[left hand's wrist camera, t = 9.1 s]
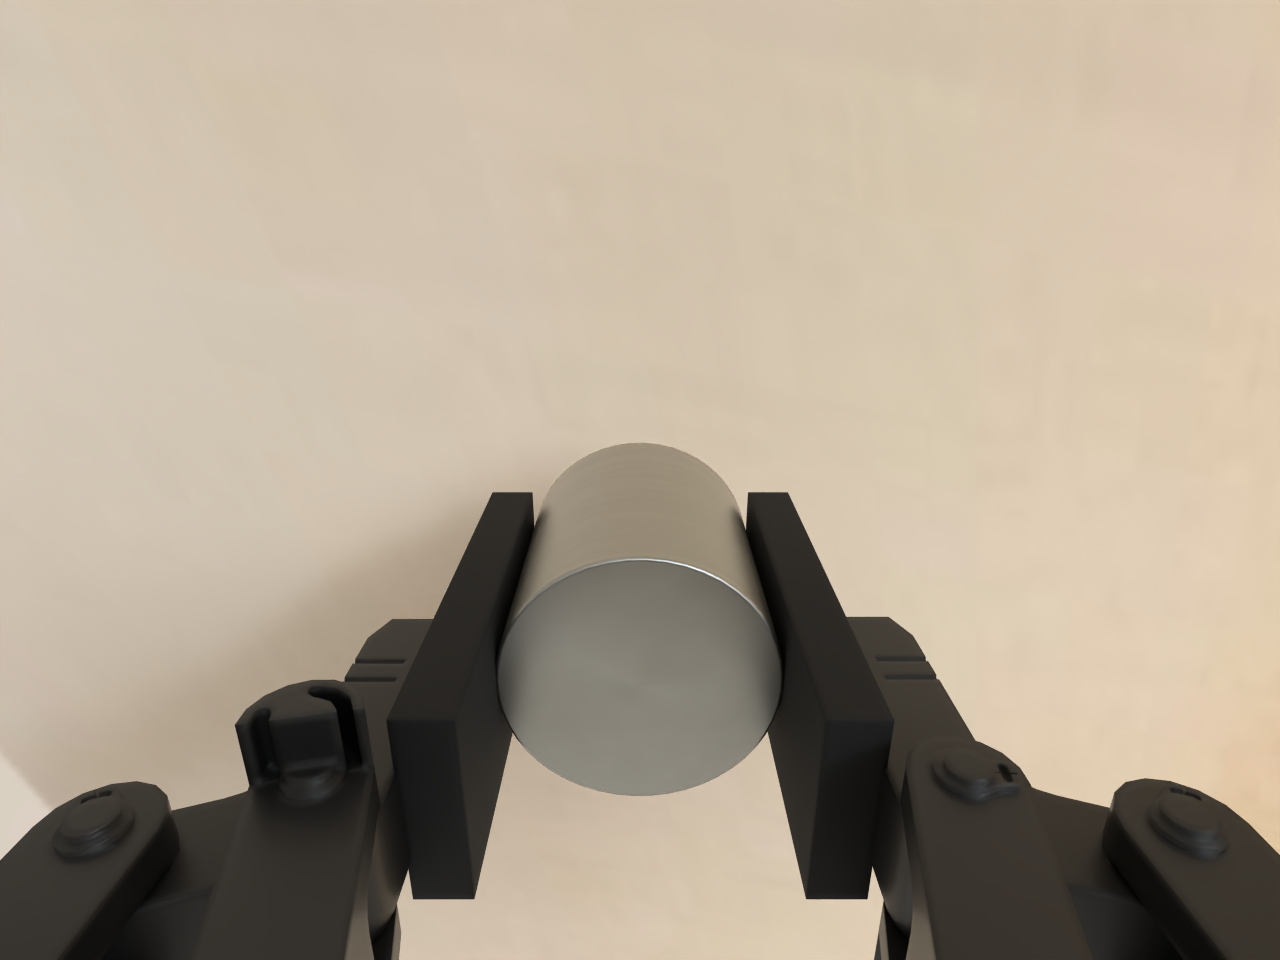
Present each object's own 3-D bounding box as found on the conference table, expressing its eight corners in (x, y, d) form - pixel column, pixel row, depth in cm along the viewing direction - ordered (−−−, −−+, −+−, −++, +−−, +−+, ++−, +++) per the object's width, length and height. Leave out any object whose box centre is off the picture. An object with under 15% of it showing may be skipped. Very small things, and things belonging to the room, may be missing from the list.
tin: (550, 635, 16) (517, 806, 12) (522, 451, 14) (471, 569, 10) (746, 620, 16) (787, 788, 11) (739, 433, 14) (782, 546, 10)
